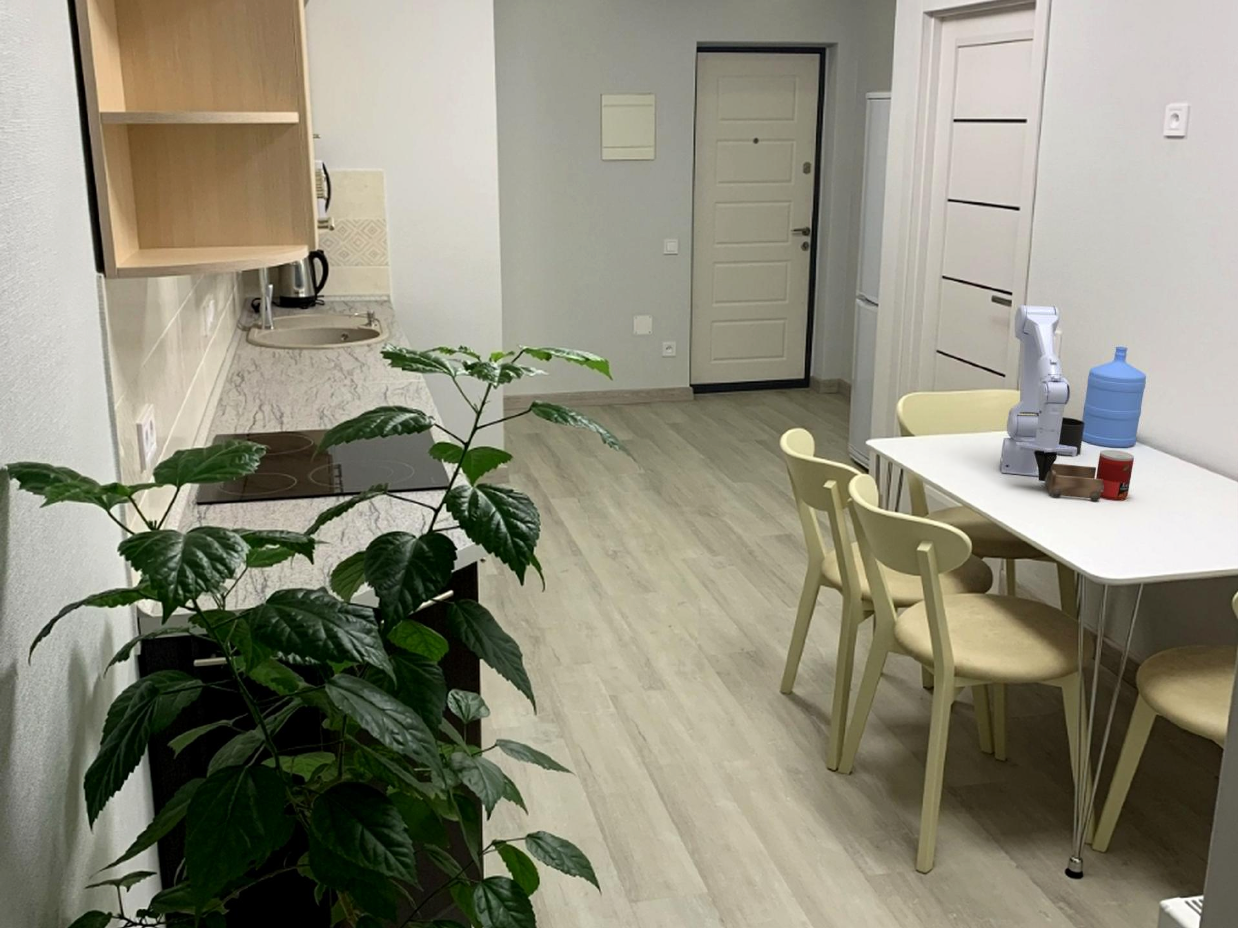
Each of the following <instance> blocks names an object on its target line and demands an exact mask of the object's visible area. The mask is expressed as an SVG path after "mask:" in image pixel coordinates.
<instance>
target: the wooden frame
mask: <svg viewBox="0 0 1238 928" xmlns="http://www.w3.org/2000/svg"><path fill="white" fill-rule="evenodd" d="M1096 473H1097V467H1096V466H1088V465H1087V466H1086V465H1077V464H1064V463H1055V462H1054V463H1053V465H1052V466H1051V468H1050V469H1049V471H1048V473H1047V476H1046V478H1045V481H1044V483H1045V484H1046V485H1045V486H1046V487H1047V490H1048V492H1049V495H1050V496H1052V497H1053V498H1055V499H1058V498H1060V497H1070V498H1080V499H1081V498H1082V499H1089V500H1091V501H1092V502H1095V503H1096V502H1098V501H1099V500H1101V490H1102V484H1103V479H1096Z"/></svg>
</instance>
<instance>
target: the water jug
mask: <svg viewBox="0 0 1238 928" xmlns="http://www.w3.org/2000/svg"><path fill="white" fill-rule="evenodd" d="M1127 351H1128V348H1127V347H1123V346H1116V347H1115V353H1114V358H1113V360H1112V361H1110V362H1106V363H1103V364H1100V365H1098V366H1094V367H1091V368H1090V369H1089V372H1088V376H1087V386H1086V391H1085V392H1086V393H1085V399H1084V400H1085V401H1084V404H1083V413H1082V419H1081V421H1082V422H1084V431H1083V437H1082V441H1083V442H1086V443H1087V444H1091V445H1094V446H1099V447H1105V448H1117V449H1119V448H1120V449H1121V448H1130V447H1132V446H1134V445H1135V444H1136V442H1137V438H1138V436H1137V435H1138V427H1139V421H1140V417H1141V414H1142V404H1143V399H1144V392H1145V388H1146V382H1147V381H1146V380H1147V376H1146V374H1145V373H1144V372H1142V371H1141V370H1139V369H1138V368H1136V367H1134V366H1133V365H1131V364H1129V363H1127V361H1126V359H1127V355H1128V354H1127Z"/></svg>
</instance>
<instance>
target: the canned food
mask: <svg viewBox="0 0 1238 928" xmlns="http://www.w3.org/2000/svg"><path fill="white" fill-rule="evenodd" d="M1134 458H1135V456H1134V455H1133V454H1132V453H1129V452H1126V451H1122V450H1117V449H1116V450H1115V449H1104V450H1101V451H1100V452H1099V458H1098V462H1097V464H1098V465H1097V468H1096V474H1095V479H1103V484H1102V490H1101V497H1100V499H1104V500H1110V501H1124V500H1126V499H1127V498H1128V496H1129V490H1130V485H1131V484H1130V483H1131V477H1132V473H1133V468H1134V467H1133V466H1134V461H1135V459H1134Z"/></svg>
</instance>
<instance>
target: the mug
mask: <svg viewBox="0 0 1238 928" xmlns="http://www.w3.org/2000/svg"><path fill="white" fill-rule="evenodd" d="M1083 431H1084V422H1082V420H1079V419H1076V418H1071V417H1064V416H1063V419H1062V426H1061V432H1060V439H1059V445H1065V446H1071V447H1076V448H1077V454H1076V456H1075V457H1077V456H1079V455H1080V454H1081V451H1082V442H1083V440H1082V437H1083ZM1057 456H1062V457H1073V456H1072V455H1064V454H1057Z"/></svg>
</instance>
